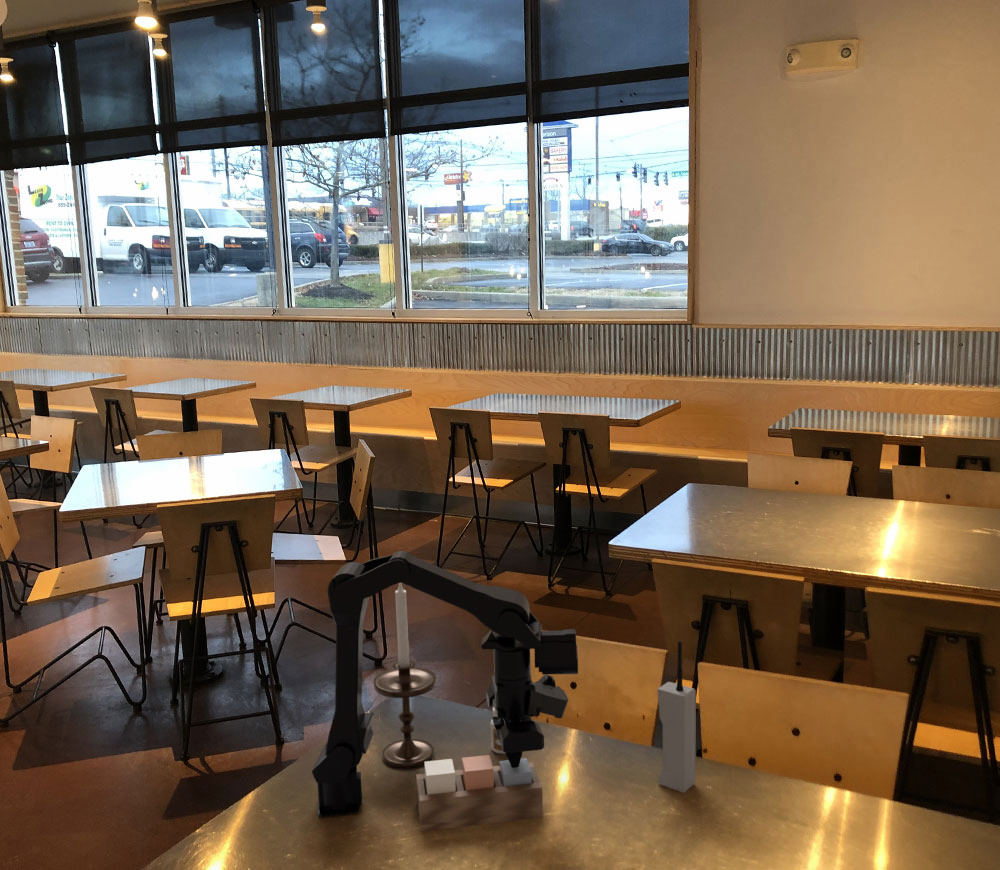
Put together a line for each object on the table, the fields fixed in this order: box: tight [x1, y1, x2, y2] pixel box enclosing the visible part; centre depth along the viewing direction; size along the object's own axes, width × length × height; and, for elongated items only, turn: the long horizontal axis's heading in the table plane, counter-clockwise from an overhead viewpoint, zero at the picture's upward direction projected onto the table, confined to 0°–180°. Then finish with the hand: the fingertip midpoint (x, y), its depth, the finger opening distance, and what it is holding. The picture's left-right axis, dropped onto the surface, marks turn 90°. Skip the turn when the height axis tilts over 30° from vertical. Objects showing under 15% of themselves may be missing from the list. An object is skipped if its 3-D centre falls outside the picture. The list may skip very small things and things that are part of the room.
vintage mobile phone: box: [657, 640, 697, 794], centre depth 153 cm, size 4×5×25 cm
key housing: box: [415, 761, 544, 832], centre depth 148 cm, size 19×8×5 cm, turn 99°
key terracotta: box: [461, 754, 494, 791], centre depth 148 cm, size 4×4×4 cm
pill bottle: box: [490, 706, 506, 755], centre depth 168 cm, size 4×4×8 cm
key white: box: [423, 758, 456, 795], centre depth 147 cm, size 4×4×4 cm
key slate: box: [499, 757, 532, 787], centre depth 149 cm, size 4×4×4 cm
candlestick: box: [373, 583, 437, 770], centre depth 164 cm, size 11×11×35 cm
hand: (514, 766), depth 149 cm, fingers closed, pressing on key slate
